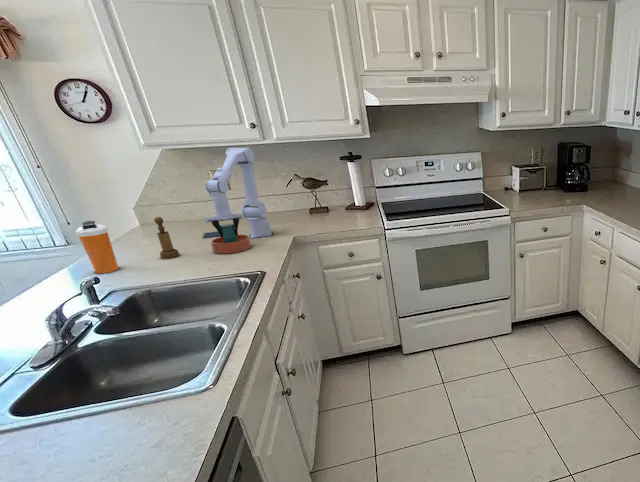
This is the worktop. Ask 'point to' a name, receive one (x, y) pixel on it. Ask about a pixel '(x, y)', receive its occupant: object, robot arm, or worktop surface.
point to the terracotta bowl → (231, 244)
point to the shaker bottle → (97, 246)
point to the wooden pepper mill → (165, 241)
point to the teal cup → (228, 233)
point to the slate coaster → (211, 234)
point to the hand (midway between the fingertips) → (229, 235)
